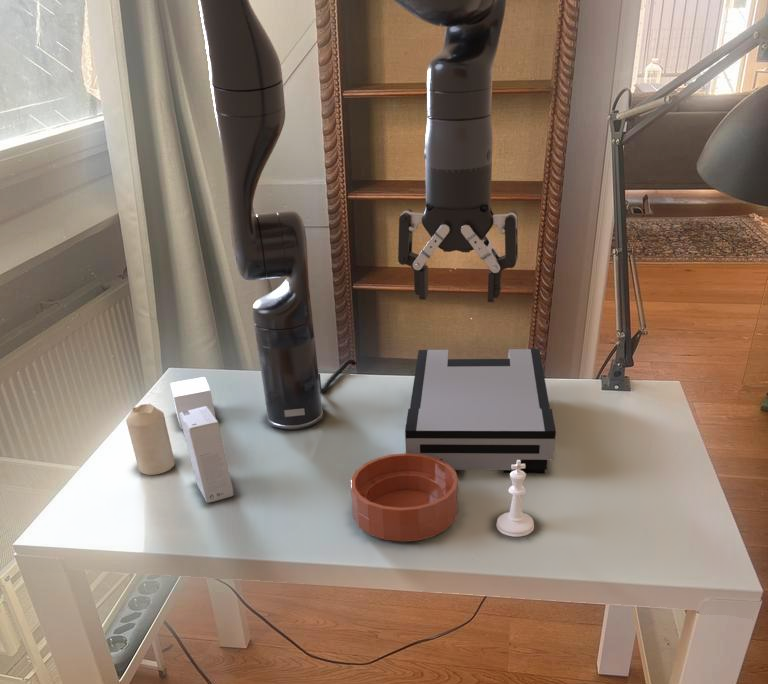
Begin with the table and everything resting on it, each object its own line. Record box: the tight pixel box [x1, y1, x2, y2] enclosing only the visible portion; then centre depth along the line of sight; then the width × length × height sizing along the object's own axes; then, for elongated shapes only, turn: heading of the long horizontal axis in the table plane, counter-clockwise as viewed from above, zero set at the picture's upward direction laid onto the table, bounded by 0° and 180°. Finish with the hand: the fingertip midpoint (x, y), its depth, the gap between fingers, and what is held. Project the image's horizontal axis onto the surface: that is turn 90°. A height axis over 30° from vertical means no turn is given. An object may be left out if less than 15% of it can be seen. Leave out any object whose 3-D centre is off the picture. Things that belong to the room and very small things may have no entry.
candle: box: [125, 403, 175, 476], centre depth 119 cm, size 6×6×10 cm
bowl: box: [350, 452, 459, 542], centre depth 106 cm, size 14×14×6 cm
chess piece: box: [495, 460, 535, 538], centre depth 101 cm, size 5×5×10 cm
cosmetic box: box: [180, 406, 235, 503], centre depth 111 cm, size 6×4×12 cm
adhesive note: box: [169, 376, 217, 430], centre depth 133 cm, size 6×6×6 cm
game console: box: [404, 348, 557, 475], centre depth 124 cm, size 21×32×8 cm, turn 175°
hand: (457, 298), depth 98 cm, fingers open, 8 cm apart
